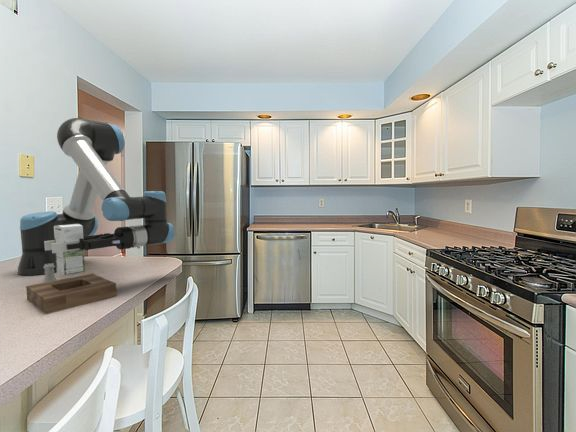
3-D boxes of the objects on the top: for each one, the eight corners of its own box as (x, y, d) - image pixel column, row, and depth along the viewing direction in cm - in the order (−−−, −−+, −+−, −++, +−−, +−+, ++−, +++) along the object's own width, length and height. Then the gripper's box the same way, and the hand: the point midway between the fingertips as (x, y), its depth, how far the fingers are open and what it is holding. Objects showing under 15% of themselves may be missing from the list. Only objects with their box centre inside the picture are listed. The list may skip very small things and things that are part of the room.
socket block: (27, 299, 96) (26, 286, 96) (92, 284, 110) (92, 273, 110) (45, 313, 85) (44, 298, 85) (116, 295, 99) (115, 283, 99)
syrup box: (77, 269, 101) (74, 223, 100) (85, 271, 98) (82, 224, 96) (56, 273, 97) (52, 225, 95) (64, 276, 93) (60, 226, 92)
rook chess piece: (44, 286, 109) (42, 263, 108) (60, 284, 111) (58, 262, 110) (40, 290, 105) (38, 266, 104) (56, 288, 107) (55, 264, 106)
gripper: (144, 251, 105) (60, 264, 87) (118, 245, 117) (39, 255, 99) (143, 228, 104) (58, 237, 86) (116, 224, 116) (37, 231, 98)
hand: (48, 247), depth 92 cm, fingers closed on syrup box, 6 cm apart
